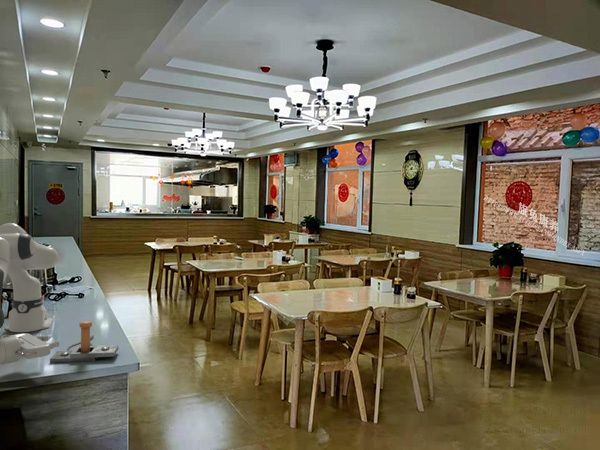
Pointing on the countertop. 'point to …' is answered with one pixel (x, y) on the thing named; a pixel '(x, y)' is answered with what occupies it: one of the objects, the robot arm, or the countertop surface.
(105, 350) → the grey latch
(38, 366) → the countertop surface
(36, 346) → the robot arm
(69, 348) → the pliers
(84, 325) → the pin
